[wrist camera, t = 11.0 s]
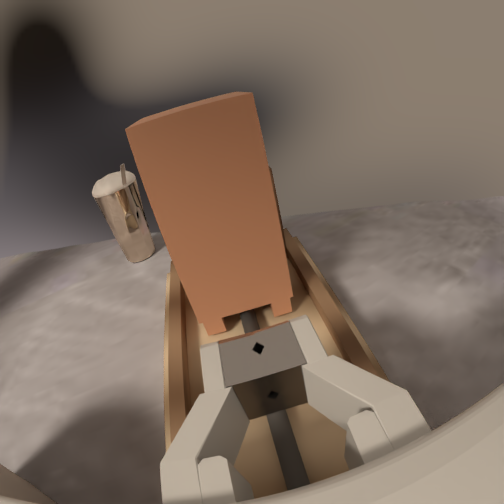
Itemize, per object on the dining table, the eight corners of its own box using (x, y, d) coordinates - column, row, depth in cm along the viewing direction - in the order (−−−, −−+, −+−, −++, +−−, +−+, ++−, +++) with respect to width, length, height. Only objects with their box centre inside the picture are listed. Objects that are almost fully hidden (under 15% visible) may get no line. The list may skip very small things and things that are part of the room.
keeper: (295, 310, 18) (252, 92, 12) (205, 336, 18) (125, 129, 12) (274, 265, 22) (235, 91, 16) (199, 287, 22) (141, 118, 16)
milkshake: (141, 272, 29) (101, 175, 23) (115, 261, 32) (78, 177, 27) (174, 247, 31) (141, 154, 26) (145, 239, 35) (114, 158, 29)
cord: (363, 634, 3) (365, 639, 2) (338, 641, 3) (338, 647, 2) (242, 270, 23) (239, 260, 23) (230, 274, 23) (227, 264, 23)
